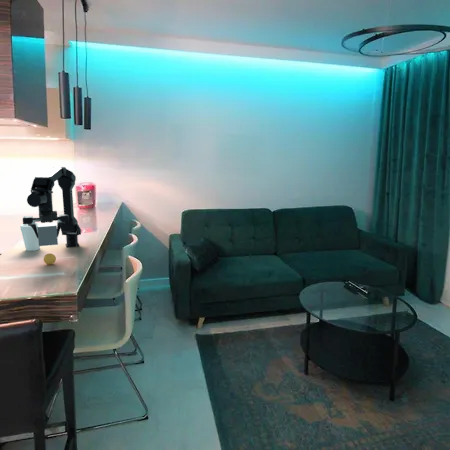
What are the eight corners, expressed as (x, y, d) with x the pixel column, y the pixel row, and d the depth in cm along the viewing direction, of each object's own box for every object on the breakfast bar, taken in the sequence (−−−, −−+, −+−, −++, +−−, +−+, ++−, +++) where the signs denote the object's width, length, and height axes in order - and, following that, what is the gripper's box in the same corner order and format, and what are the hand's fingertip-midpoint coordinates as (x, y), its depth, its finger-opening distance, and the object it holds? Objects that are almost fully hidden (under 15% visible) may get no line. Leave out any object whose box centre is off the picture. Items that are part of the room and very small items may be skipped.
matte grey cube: (38, 242, 160) (37, 223, 159) (56, 240, 164) (55, 222, 162) (38, 246, 154) (37, 227, 152) (57, 244, 157) (56, 225, 156)
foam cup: (47, 247, 182) (45, 223, 179) (33, 252, 173) (31, 227, 170) (32, 246, 184) (30, 222, 182) (18, 250, 175) (15, 225, 173)
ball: (43, 254, 151) (44, 265, 151) (55, 253, 153) (56, 264, 153) (43, 253, 155) (44, 264, 156) (55, 252, 158) (56, 263, 158)
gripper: (20, 207, 144) (24, 243, 147) (69, 205, 153) (71, 239, 156) (21, 204, 153) (24, 237, 156) (67, 202, 162) (69, 234, 165)
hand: (47, 237), depth 158 cm, fingers closed on matte grey cube, 8 cm apart
